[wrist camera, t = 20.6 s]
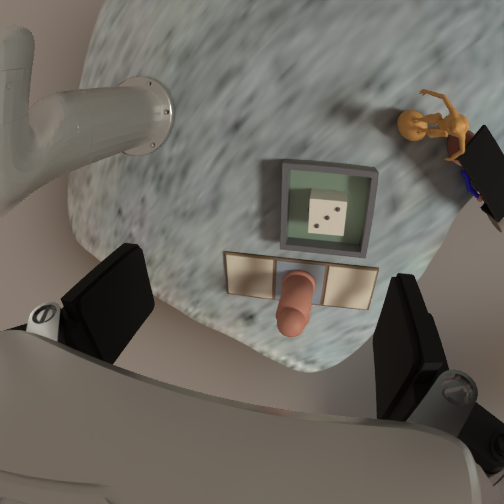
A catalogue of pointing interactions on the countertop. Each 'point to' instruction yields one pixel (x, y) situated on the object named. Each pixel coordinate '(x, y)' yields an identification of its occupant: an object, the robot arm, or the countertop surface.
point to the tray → (330, 178)
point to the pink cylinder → (295, 302)
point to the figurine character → (482, 171)
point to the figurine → (416, 124)
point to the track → (325, 274)
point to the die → (327, 212)
